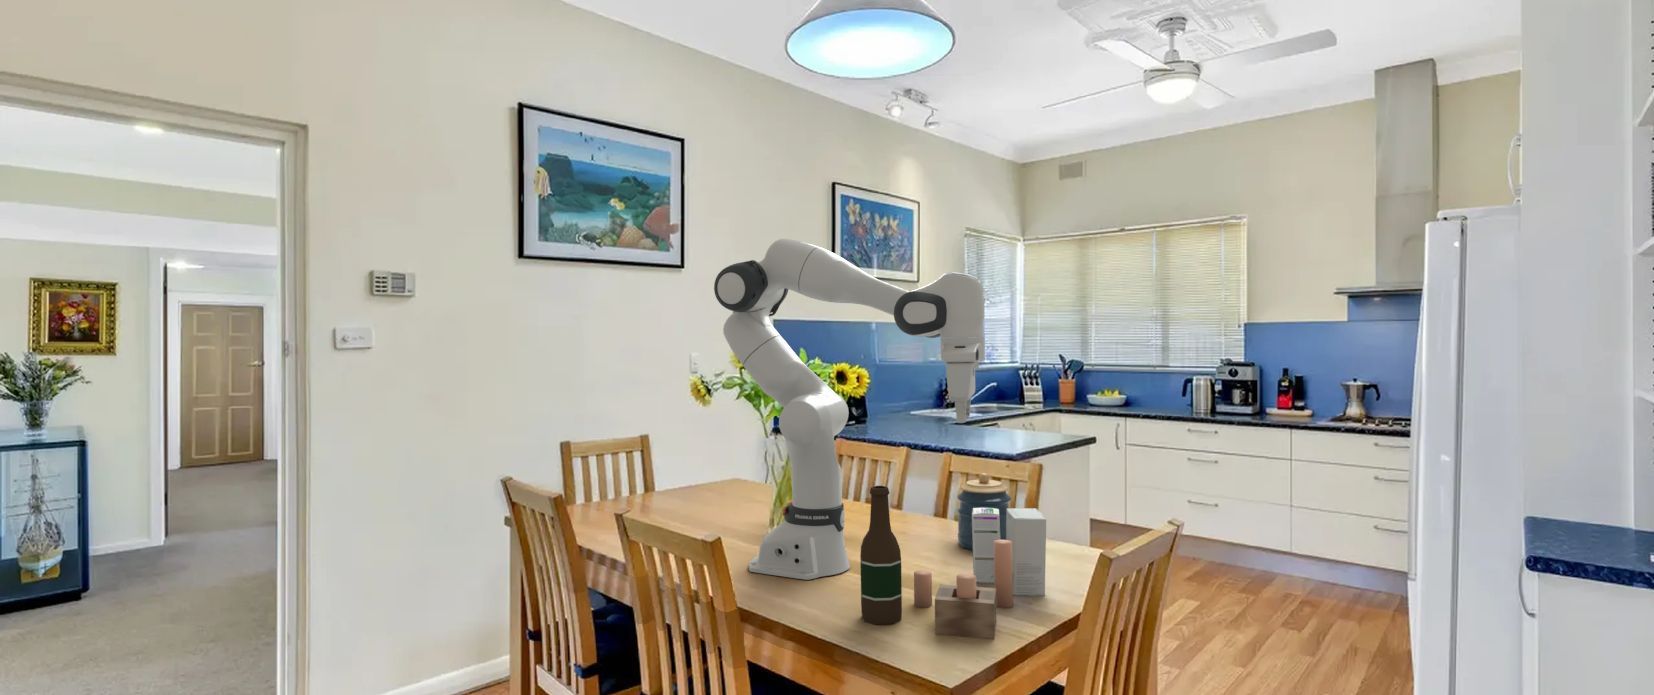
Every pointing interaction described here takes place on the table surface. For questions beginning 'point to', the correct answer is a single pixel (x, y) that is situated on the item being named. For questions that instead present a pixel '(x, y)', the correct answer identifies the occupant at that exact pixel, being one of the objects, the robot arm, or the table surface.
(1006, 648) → the table surface
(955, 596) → the hole block
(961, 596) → the pin medium
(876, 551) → the beer bottle
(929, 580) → the pin short
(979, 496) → the canister
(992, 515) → the syrup box
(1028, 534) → the skincare box
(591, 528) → the table surface
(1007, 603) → the pin long
